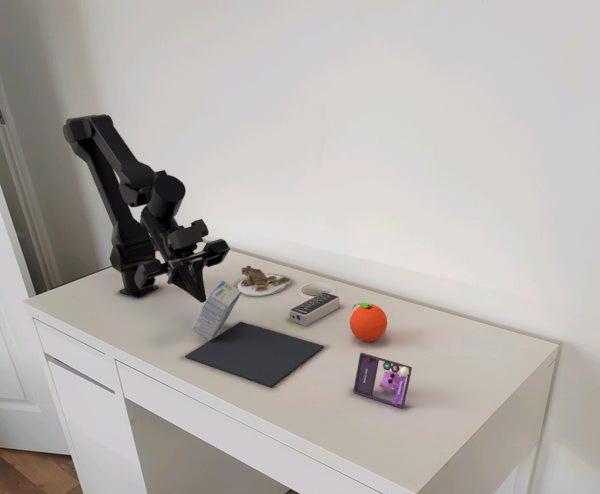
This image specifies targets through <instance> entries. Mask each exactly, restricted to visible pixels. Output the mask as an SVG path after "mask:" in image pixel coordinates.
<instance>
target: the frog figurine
mask: <svg viewBox="0 0 600 494" xmlns="http://www.w3.org/2000/svg"><path fill="white" fill-rule="evenodd" d="M240 269H241V271H240V272H241V275H245V276H246V277H245V278H244V279H242V280H241V281H239V282H238V284H237V288H236V289H238V290H239V291H240V292H241V294H244V295H245V296H249V297H261V296H263V297H264V296H271V295H274V294H277V293H279V292H281V291H283V290H284V289H286V287H287V286H290V285H292V283H291V279H290V277H288V276H285V275H279V274H277V273H270V272H269V273H264V272H263V271H262V270H261V269H259V268H253V267H252V266H251V265H247V266H246V267H241V268H240Z"/></svg>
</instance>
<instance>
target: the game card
mask: <svg viewBox="0 0 600 494" xmlns="http://www.w3.org/2000/svg"><path fill="white" fill-rule="evenodd" d="M380 361H381V362H383V363H382V367H383V370H385V371H384V374H383V377H382V381H381V382H379V387H382V388H383V390H385V391H386V392H388V393H394V392H396V394H395V398H394V399H393V401H390V400H387V399H384V398H381V397H378V396H375V395H373V394H374V388H375V383H376V379H377V373H378V367H379V364H380V363H379V362H380ZM390 370H391V371H390ZM412 370H413V367H412V366H409V365H407V364H403V363H400V362H396V361H393V360H390V359H385V358H382V357H379V356H375V355H371V354H368V353H365V352H360V353H359V358H358V362H357V368H356V374H355V378H354V383H353V384H354V385H353V391H352V392H353V394H357V395H360V396H363V397H366V398H369V399H372V400H375V401H378V402H381V403H384V404H387V405H390V406H394V407H396V408H399V409H403V408H405V405H406V399H407V395H408V390H409V385H410V380H411V376H412V375H411V374H412ZM400 402H401V403H400Z"/></svg>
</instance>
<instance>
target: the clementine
mask: <svg viewBox="0 0 600 494" xmlns="http://www.w3.org/2000/svg"><path fill="white" fill-rule="evenodd" d="M356 306H358V307H356ZM355 307H356V308H355ZM354 308H355V309H354ZM353 310H354V311H353ZM352 311H353V312H352V314H351V316H350V318H349V325H350V326H349V327H350V331H351V333H352V335H354V337H355V338H357V339H358V340H360V341H362V342H367V343H368V342H374V341H377V340H378V339H380V338H381V337H382V336H384V335H385V332H386V331H387V327H388V317H387V315H386V313H385V311H384V310H383V309H382V308H381V307H380V306H378V305H376V304H374V303H368V302H358V303H356V304H354V305H353V306H352Z"/></svg>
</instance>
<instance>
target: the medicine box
mask: <svg viewBox="0 0 600 494" xmlns="http://www.w3.org/2000/svg"><path fill="white" fill-rule="evenodd" d="M241 294H242V292H241V291H239V290H238V288H236V287H235V286H233V285H231V284H230V283H228V282H226V281H224V280H222V281H221V282H220V283H219V284H218V285H217V286H216V287H215V288H214V290H212V292H210V294H208V295H207V297H206V301H205V302H203V305H202V307H201V308H200V311H199V313H198V315H197V317H196V318H195V321H194V322H193V325H192V327H191V330H193V331H194V332H195V333H197V334H199V336H202V337H203V338H205V339H206V340H209V341H210V340H212V339H213V338H215V337H216V336H217V335H218V333H219V331H220V330H221V329H222V328H223V326H224V325H225V324H226V321H227V320H228V318H229V316H230V314H231V312H232V311H233V309H234V307H235V306H236V303H237V302H238V300H239V299H240V296H241Z"/></svg>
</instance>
